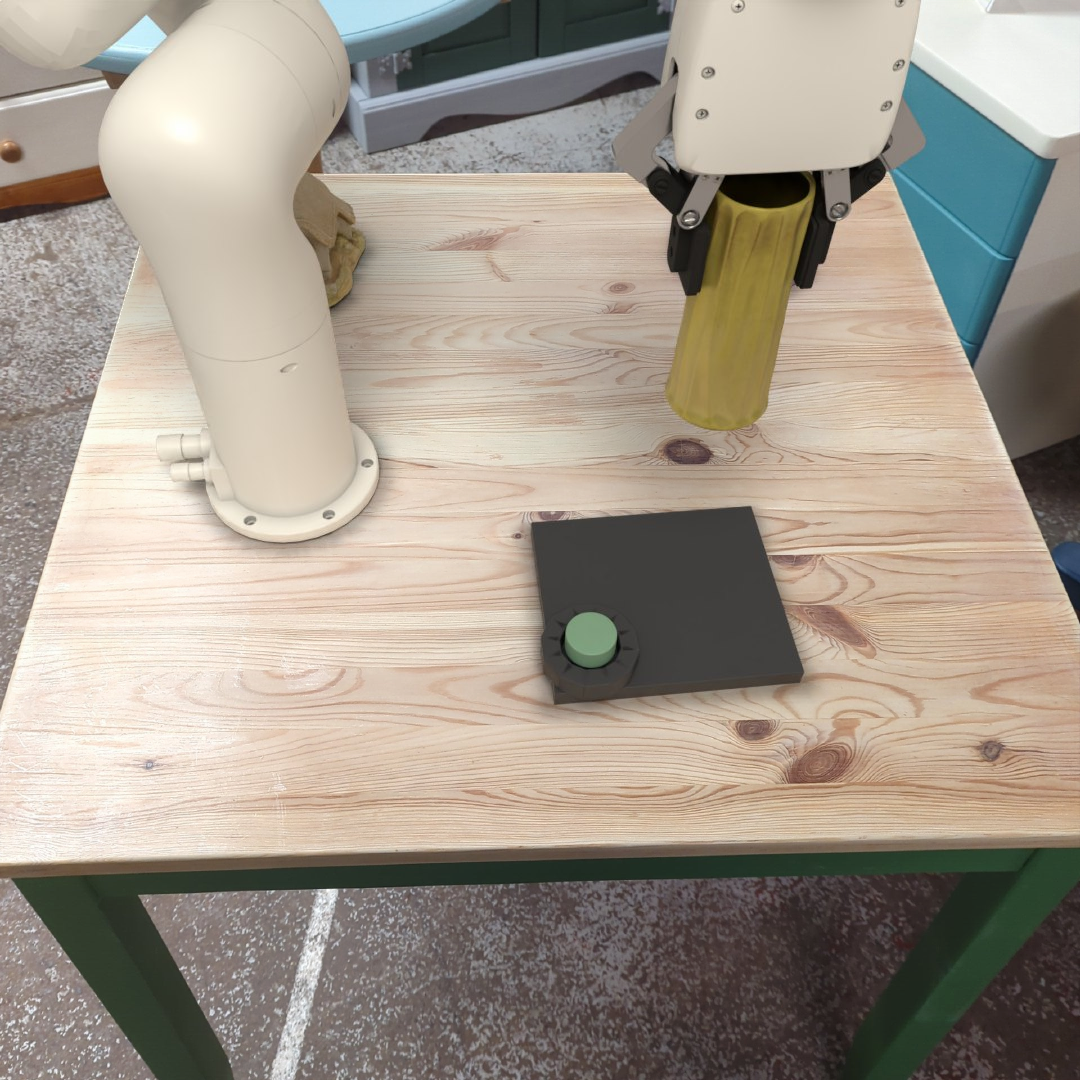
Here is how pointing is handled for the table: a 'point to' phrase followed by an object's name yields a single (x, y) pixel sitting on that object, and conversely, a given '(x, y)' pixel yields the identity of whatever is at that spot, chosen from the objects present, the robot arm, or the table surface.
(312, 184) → the ceramic model
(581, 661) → the button
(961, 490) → the table surface
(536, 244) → the table surface
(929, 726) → the table surface
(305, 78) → the robot arm
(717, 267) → the vase
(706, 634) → the scale
